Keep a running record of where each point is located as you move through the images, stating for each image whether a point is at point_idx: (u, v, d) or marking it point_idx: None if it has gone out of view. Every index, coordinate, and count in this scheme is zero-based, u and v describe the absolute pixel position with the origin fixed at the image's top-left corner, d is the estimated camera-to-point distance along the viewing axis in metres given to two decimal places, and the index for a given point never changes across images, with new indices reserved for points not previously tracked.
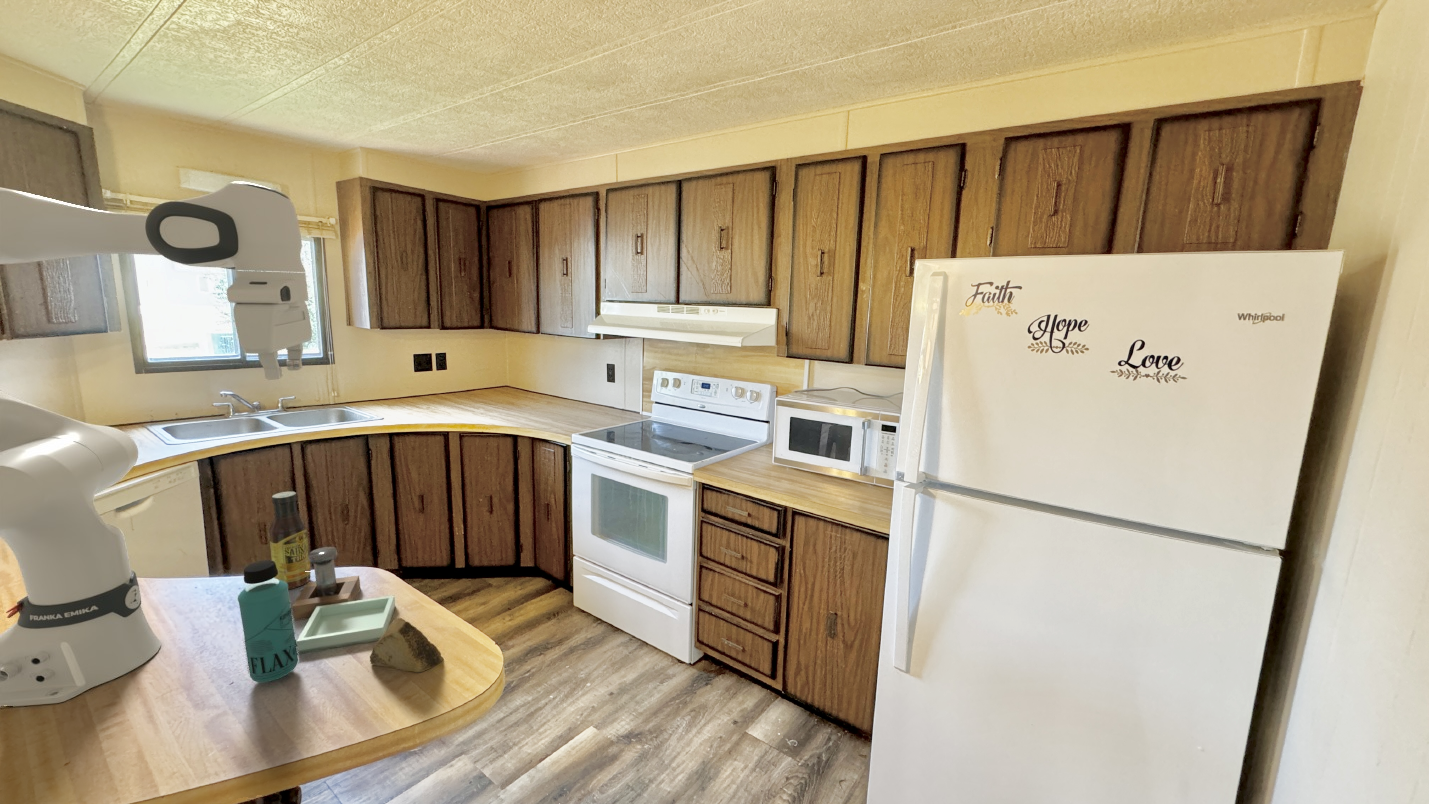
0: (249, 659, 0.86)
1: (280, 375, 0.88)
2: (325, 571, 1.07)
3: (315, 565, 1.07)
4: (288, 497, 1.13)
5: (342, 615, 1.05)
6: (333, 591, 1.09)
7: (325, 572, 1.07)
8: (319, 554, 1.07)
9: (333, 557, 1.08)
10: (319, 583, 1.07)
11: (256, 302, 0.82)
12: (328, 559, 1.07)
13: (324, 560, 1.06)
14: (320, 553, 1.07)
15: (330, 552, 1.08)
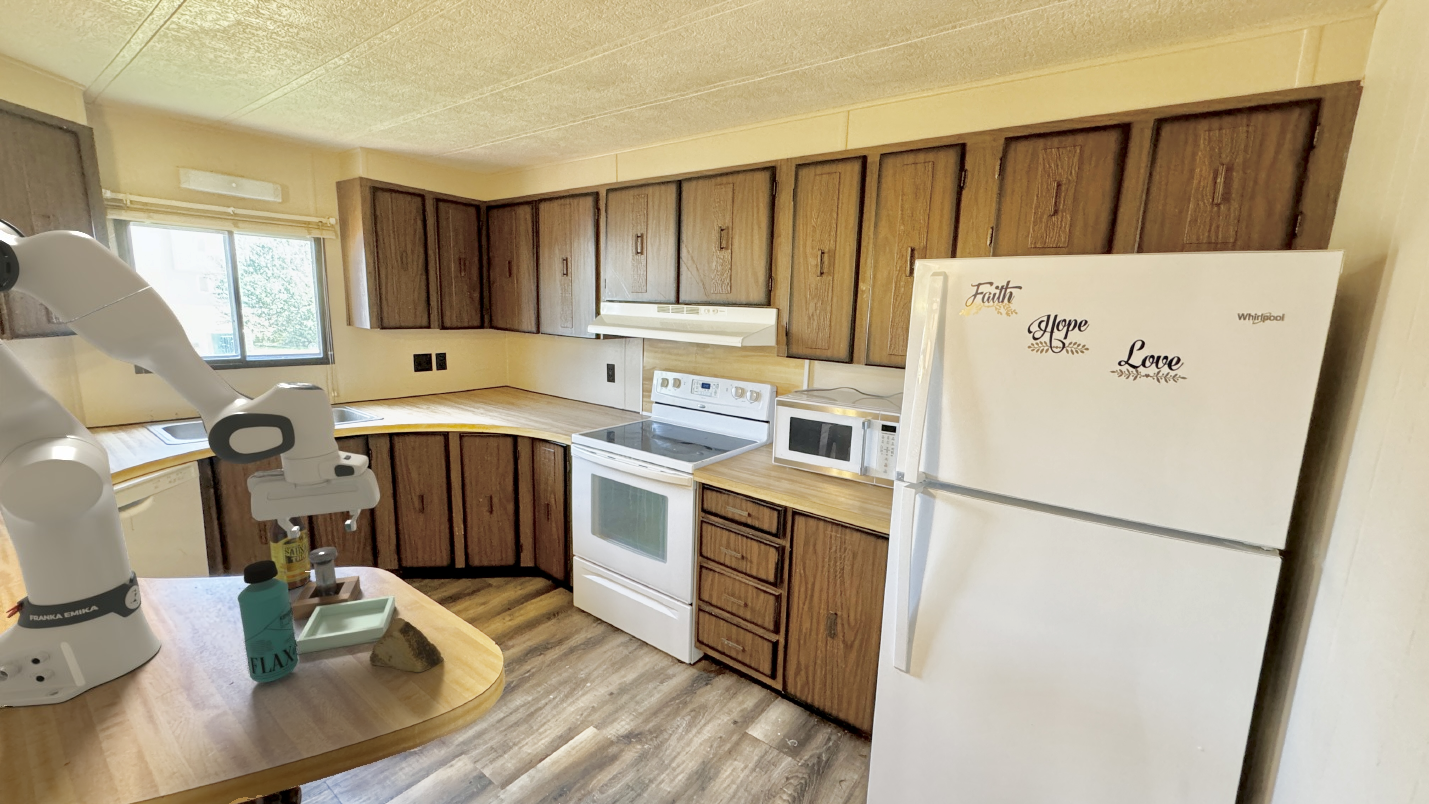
0: (249, 659, 0.86)
1: None
2: (325, 571, 1.07)
3: (315, 565, 1.07)
4: None
5: (342, 615, 1.05)
6: (333, 591, 1.09)
7: (325, 572, 1.07)
8: (319, 554, 1.07)
9: (333, 557, 1.08)
10: (319, 583, 1.07)
11: None
12: (328, 559, 1.07)
13: (324, 560, 1.06)
14: (320, 553, 1.07)
15: (330, 552, 1.08)
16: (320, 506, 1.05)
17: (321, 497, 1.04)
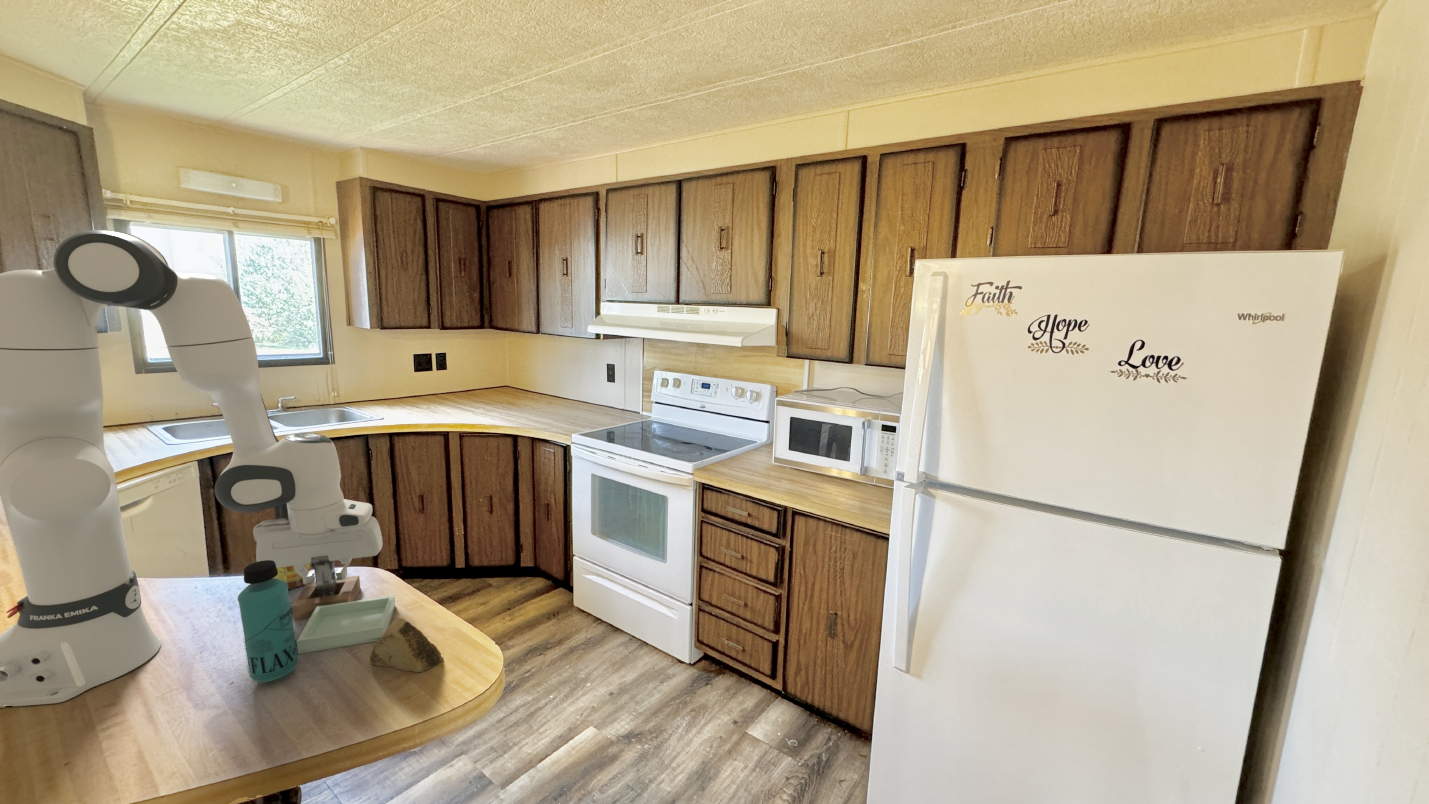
0: (249, 659, 0.86)
1: None
2: (325, 571, 1.07)
3: (315, 565, 1.07)
4: None
5: (342, 615, 1.05)
6: (333, 591, 1.09)
7: (325, 572, 1.07)
8: None
9: None
10: (318, 583, 1.07)
11: None
12: (328, 559, 1.07)
13: (324, 560, 1.06)
14: None
15: None
16: (323, 555, 1.06)
17: (325, 546, 1.06)
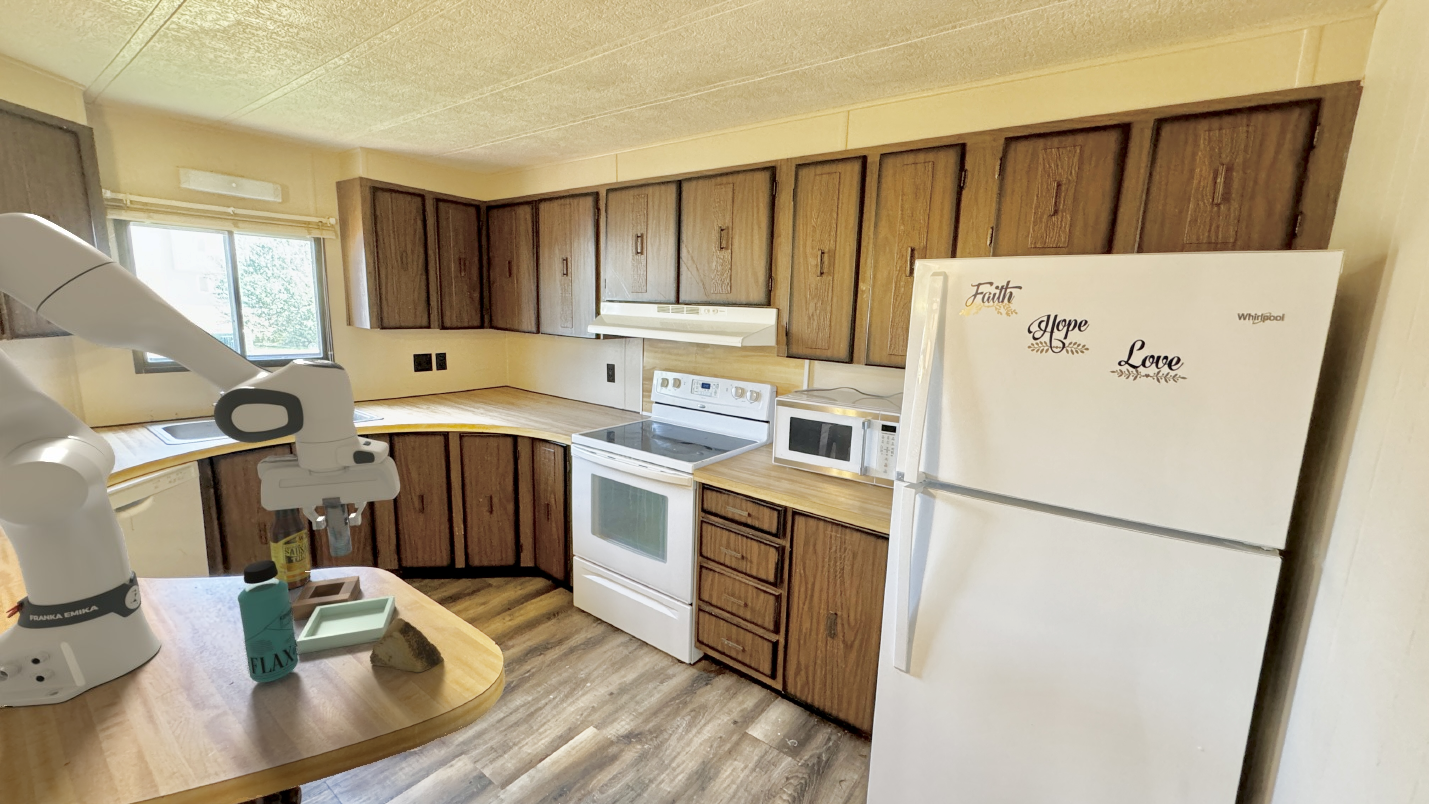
0: (249, 659, 0.86)
1: None
2: (337, 515, 0.97)
3: (326, 508, 0.96)
4: None
5: (342, 615, 1.05)
6: (345, 537, 0.98)
7: (337, 516, 0.97)
8: None
9: None
10: (330, 527, 0.97)
11: None
12: (340, 501, 0.96)
13: (336, 502, 0.96)
14: None
15: None
16: (335, 496, 0.96)
17: (337, 486, 0.95)
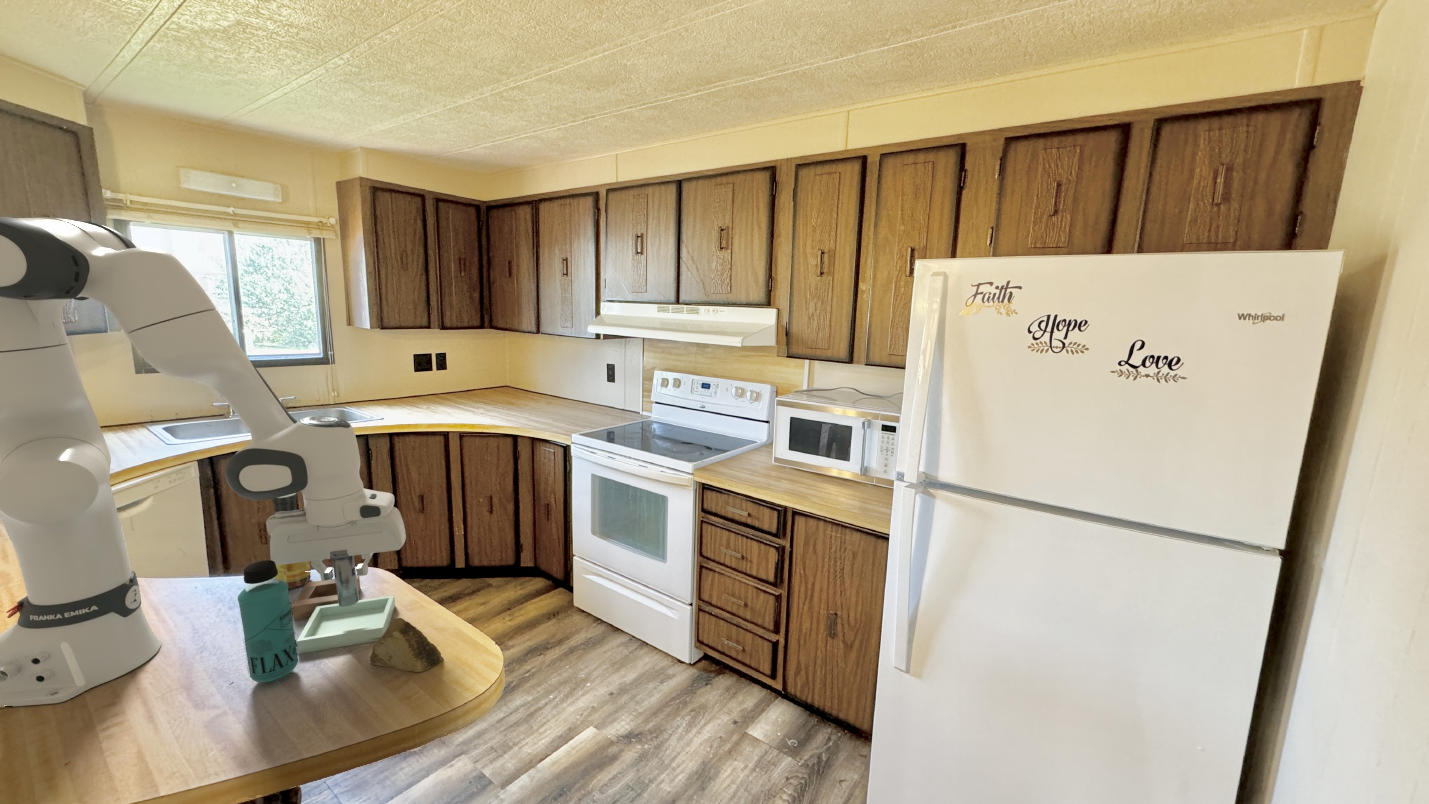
0: (249, 659, 0.86)
1: None
2: (344, 567, 0.99)
3: (334, 560, 0.98)
4: (288, 497, 1.13)
5: (342, 615, 1.05)
6: (353, 588, 1.00)
7: (344, 568, 0.99)
8: None
9: None
10: (338, 579, 0.99)
11: None
12: None
13: (344, 555, 0.98)
14: None
15: None
16: (343, 549, 0.98)
17: (344, 539, 0.97)
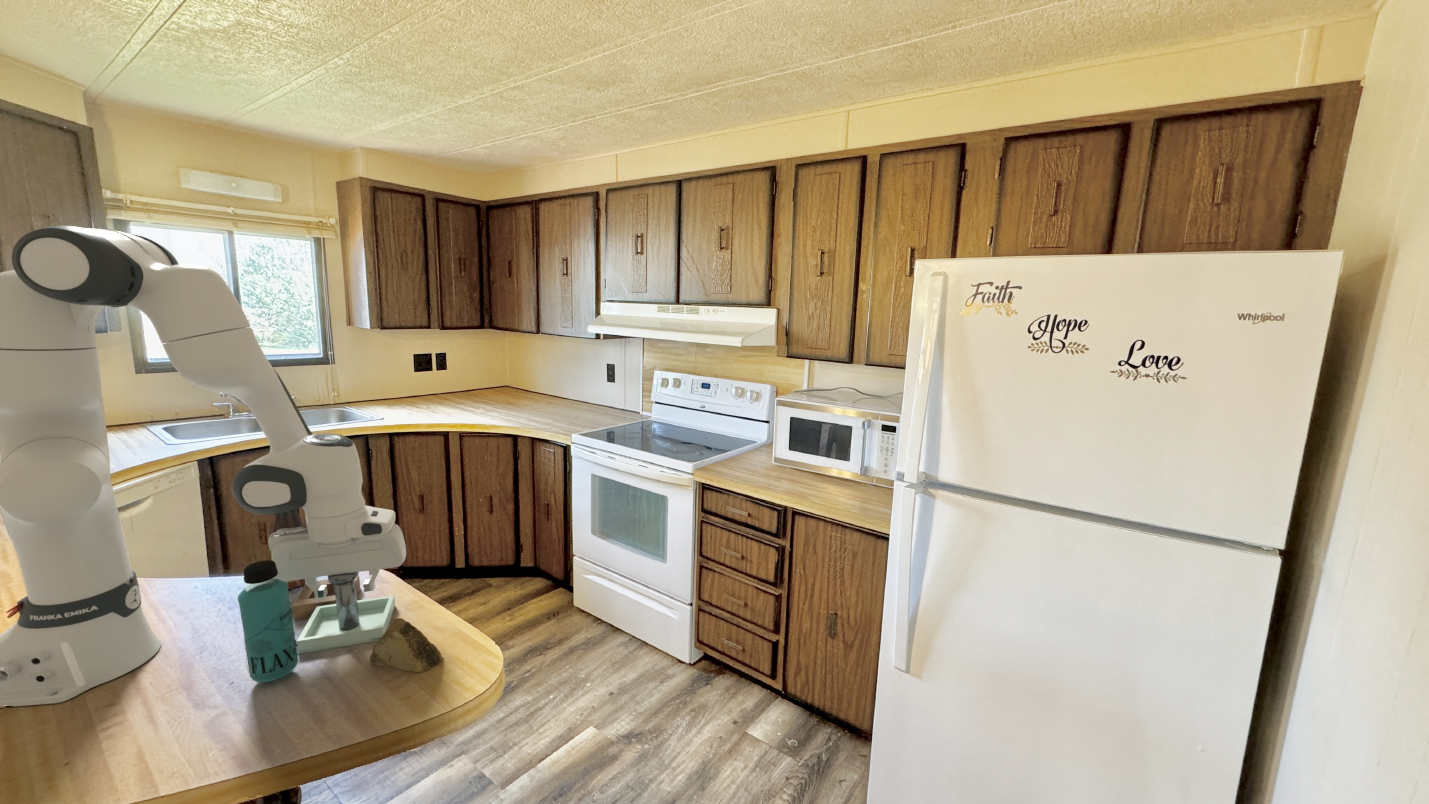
0: (249, 659, 0.86)
1: None
2: (345, 592, 1.00)
3: (335, 585, 0.99)
4: None
5: None
6: (354, 612, 1.01)
7: (346, 593, 1.00)
8: None
9: (354, 576, 1.00)
10: (339, 604, 1.00)
11: None
12: (349, 579, 0.99)
13: (345, 580, 0.99)
14: None
15: None
16: (344, 566, 0.98)
17: (345, 556, 0.98)
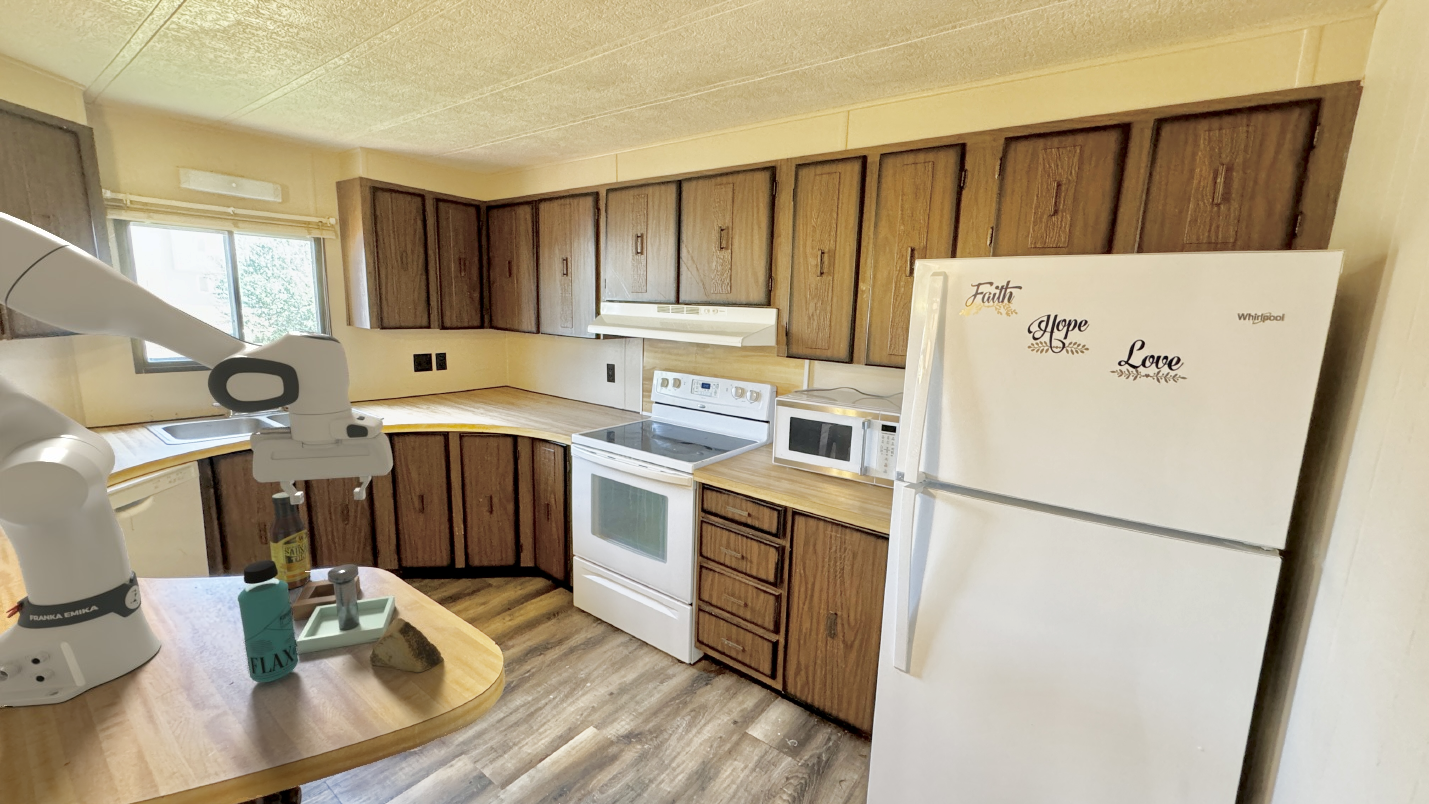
0: (249, 659, 0.86)
1: None
2: (345, 591, 1.00)
3: (335, 584, 0.99)
4: (288, 497, 1.13)
5: None
6: (354, 612, 1.01)
7: (346, 592, 1.00)
8: (340, 572, 1.00)
9: (354, 575, 1.00)
10: (339, 603, 1.00)
11: (379, 432, 0.99)
12: (349, 578, 0.99)
13: (345, 579, 0.99)
14: (340, 571, 1.00)
15: (351, 570, 1.00)
16: (327, 470, 0.95)
17: (330, 460, 0.95)
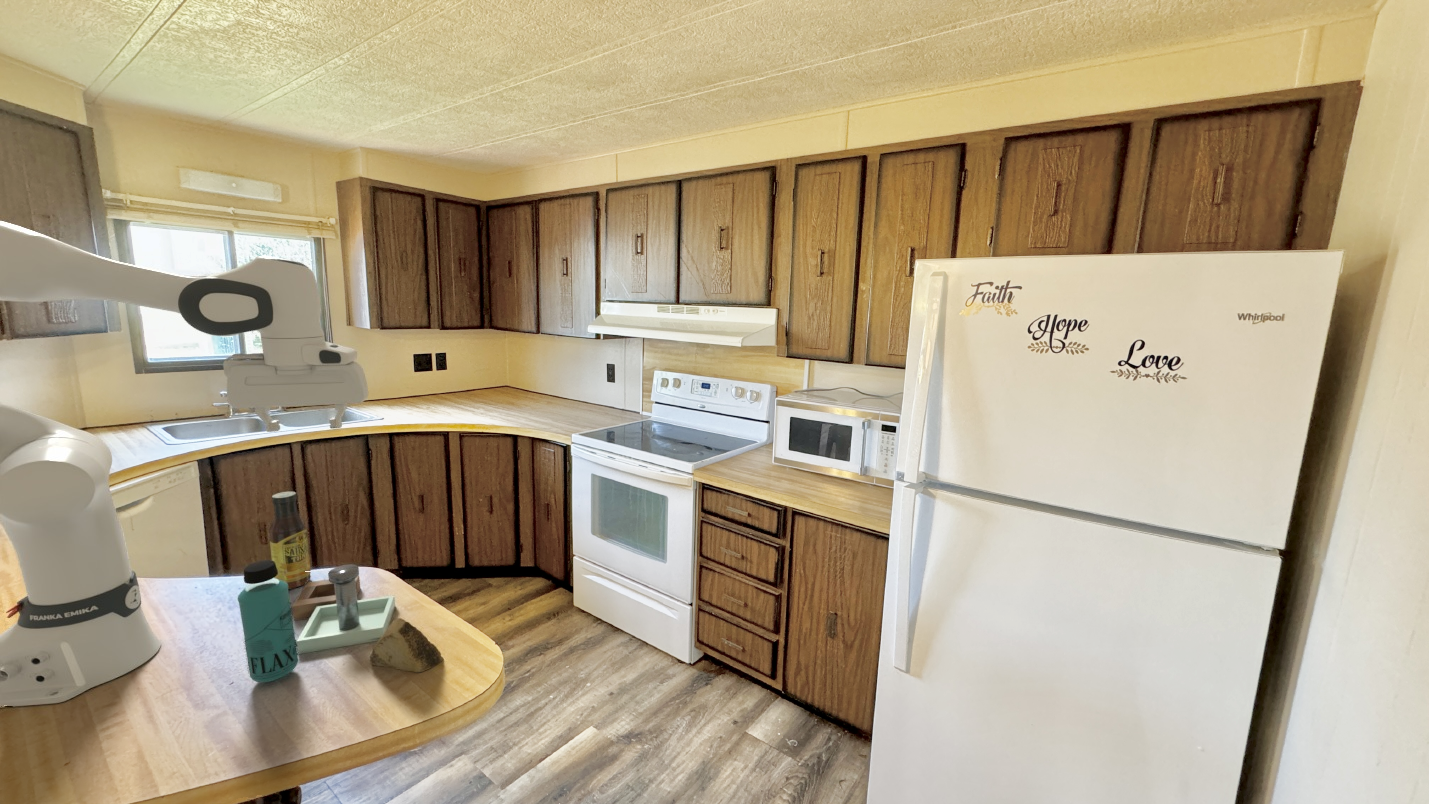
0: (249, 659, 0.86)
1: None
2: (346, 591, 1.00)
3: (336, 585, 0.99)
4: (288, 497, 1.13)
5: None
6: (354, 612, 1.01)
7: (346, 592, 1.00)
8: (340, 573, 0.99)
9: (355, 576, 1.00)
10: (339, 603, 1.00)
11: (353, 361, 1.00)
12: (350, 578, 0.99)
13: (346, 579, 0.99)
14: (341, 571, 1.00)
15: (351, 570, 1.00)
16: (302, 397, 0.96)
17: (304, 387, 0.96)
